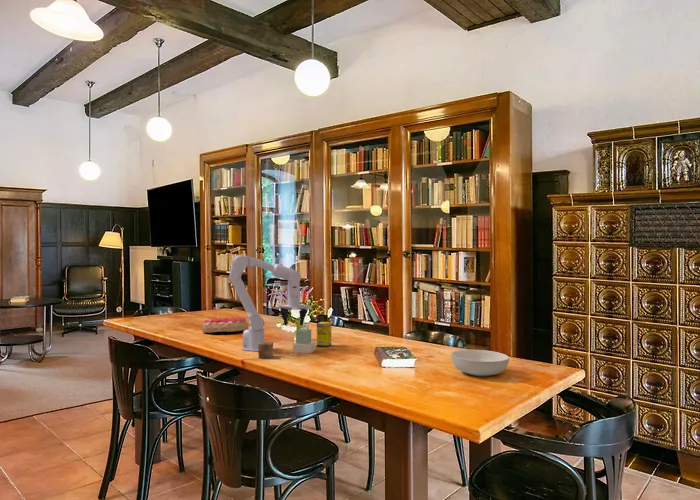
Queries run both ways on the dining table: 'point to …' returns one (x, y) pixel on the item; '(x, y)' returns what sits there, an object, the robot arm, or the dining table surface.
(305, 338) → the green block
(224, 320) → the cake
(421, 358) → the dining table surface
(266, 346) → the walnut block
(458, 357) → the serving bowl
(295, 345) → the grey block
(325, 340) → the supplement box
